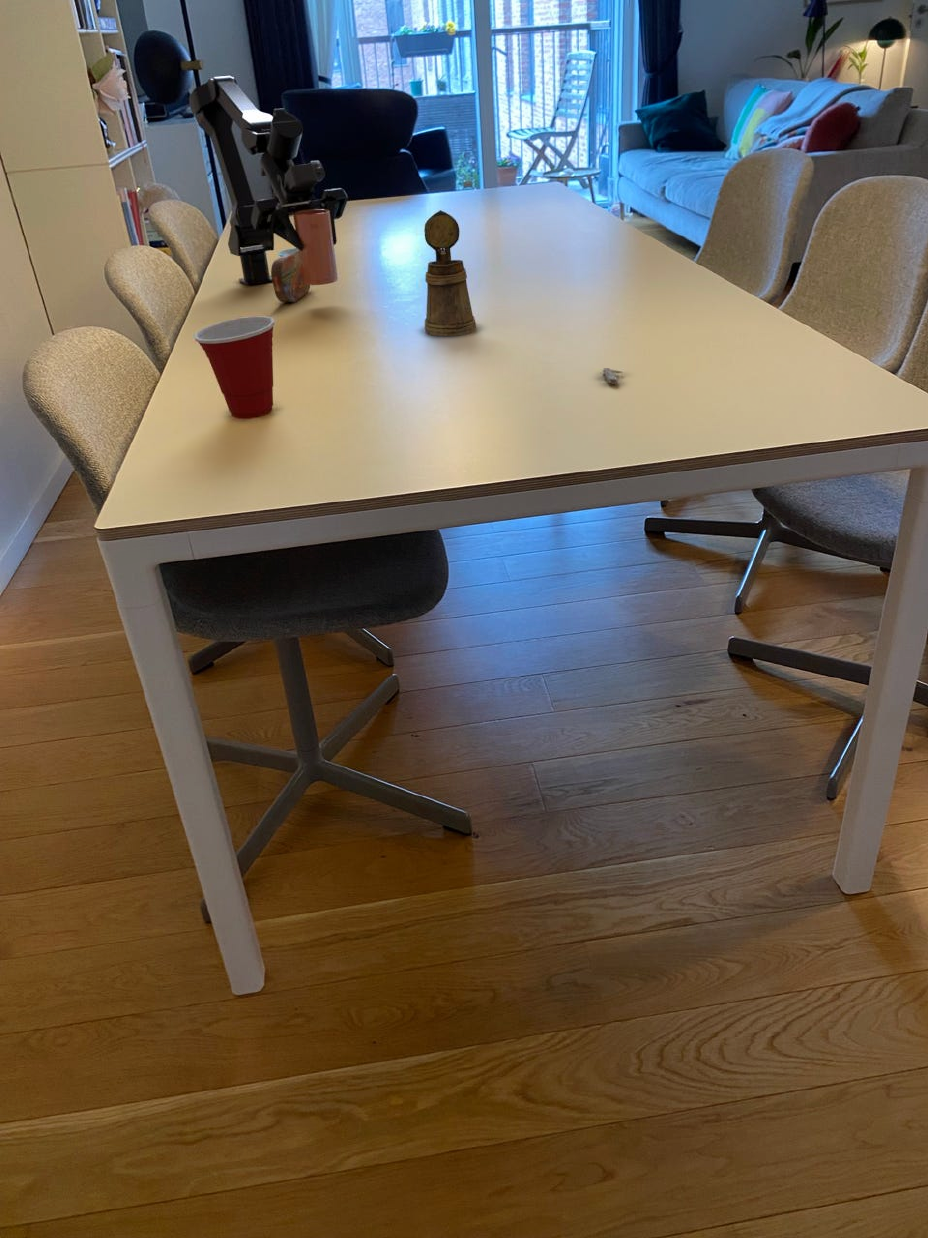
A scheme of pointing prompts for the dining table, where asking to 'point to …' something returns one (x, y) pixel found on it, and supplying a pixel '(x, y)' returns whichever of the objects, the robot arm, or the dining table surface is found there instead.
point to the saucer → (287, 251)
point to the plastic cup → (242, 363)
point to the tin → (288, 278)
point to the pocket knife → (610, 375)
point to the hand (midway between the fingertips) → (318, 245)
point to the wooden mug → (446, 281)
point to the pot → (316, 246)
